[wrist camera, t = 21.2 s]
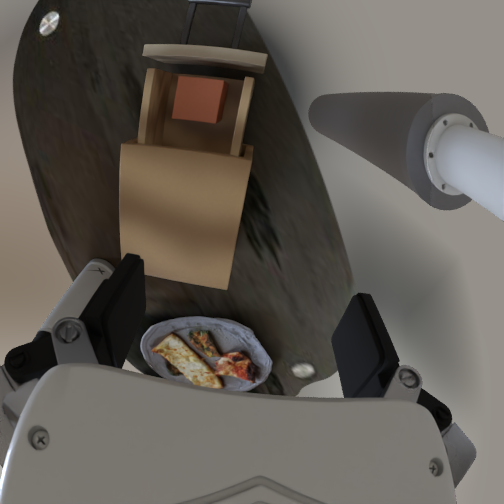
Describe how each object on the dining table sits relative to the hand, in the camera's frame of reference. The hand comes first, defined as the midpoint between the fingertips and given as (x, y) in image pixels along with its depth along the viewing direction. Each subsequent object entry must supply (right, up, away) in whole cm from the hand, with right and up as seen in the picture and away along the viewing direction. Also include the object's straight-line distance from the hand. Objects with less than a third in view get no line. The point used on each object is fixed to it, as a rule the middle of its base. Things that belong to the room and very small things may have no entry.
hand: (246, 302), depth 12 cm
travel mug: (-24, -1, +30) cm, 38 cm away
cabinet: (-7, +10, +23) cm, 26 cm away
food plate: (-8, -17, +39) cm, 43 cm away
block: (-5, +19, +15) cm, 24 cm away
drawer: (-5, +21, +15) cm, 26 cm away
